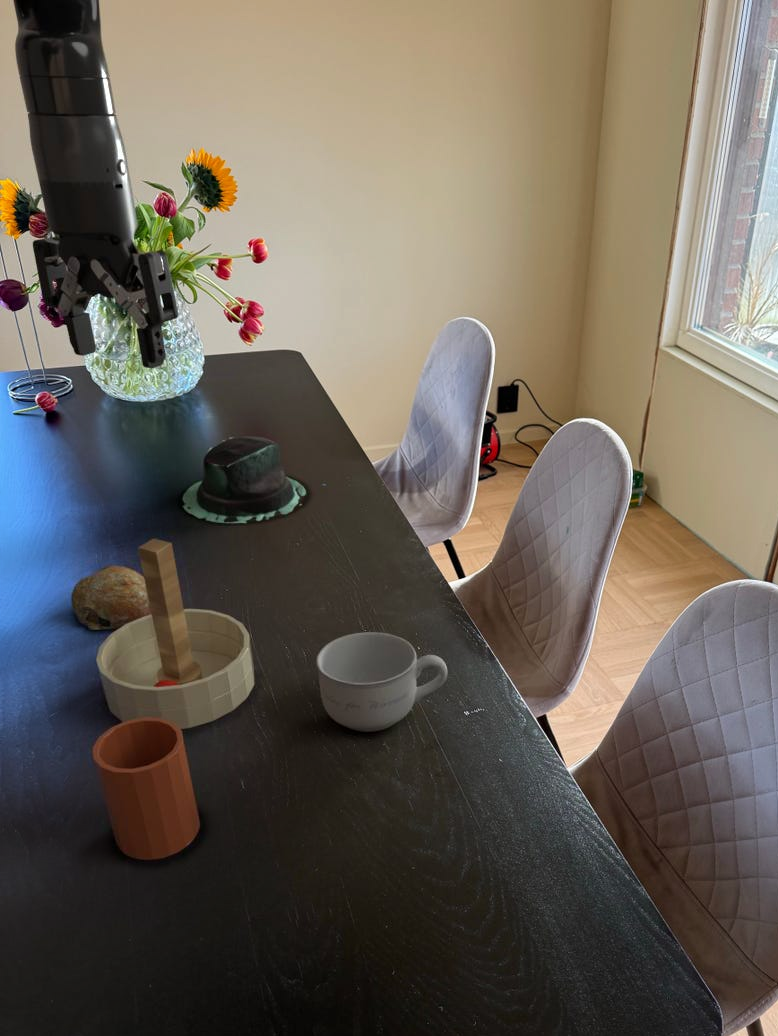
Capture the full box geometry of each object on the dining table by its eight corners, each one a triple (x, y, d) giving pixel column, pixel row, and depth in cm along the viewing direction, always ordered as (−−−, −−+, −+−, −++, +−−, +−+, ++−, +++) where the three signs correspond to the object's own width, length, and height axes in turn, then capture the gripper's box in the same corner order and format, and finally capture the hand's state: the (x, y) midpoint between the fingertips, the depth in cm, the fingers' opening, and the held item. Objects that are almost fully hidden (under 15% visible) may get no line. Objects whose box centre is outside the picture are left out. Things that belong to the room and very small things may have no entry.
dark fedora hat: (272, 528, 135) (154, 515, 139) (318, 535, 153) (213, 524, 157) (281, 429, 134) (162, 419, 138) (327, 448, 152) (220, 439, 156)
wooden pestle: (150, 691, 100) (120, 549, 91) (179, 669, 104) (152, 531, 94) (184, 702, 99) (157, 559, 89) (212, 679, 102) (188, 540, 93)
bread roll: (75, 647, 115) (52, 613, 108) (92, 582, 120) (71, 546, 113) (153, 647, 115) (135, 614, 108) (166, 583, 120) (149, 547, 114)
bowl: (75, 709, 98) (63, 665, 95) (173, 638, 111) (165, 597, 107) (193, 751, 93) (184, 705, 90) (282, 671, 105) (277, 629, 102)
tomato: (142, 708, 97) (149, 676, 97) (174, 713, 99) (181, 682, 99) (152, 710, 94) (159, 677, 94) (185, 716, 96) (192, 683, 97)
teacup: (308, 738, 95) (302, 678, 91) (336, 680, 104) (332, 623, 100) (436, 753, 94) (436, 692, 89) (452, 693, 103) (453, 635, 98)
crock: (99, 848, 81) (73, 756, 75) (155, 797, 87) (134, 708, 81) (164, 874, 79) (141, 782, 73) (216, 820, 84) (200, 731, 78)
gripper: (-12, 171, 77) (34, 359, 86) (116, 183, 72) (150, 381, 81) (55, 164, 83) (92, 341, 92) (177, 175, 78) (203, 361, 87)
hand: (119, 359), depth 86 cm, fingers open, 8 cm apart
